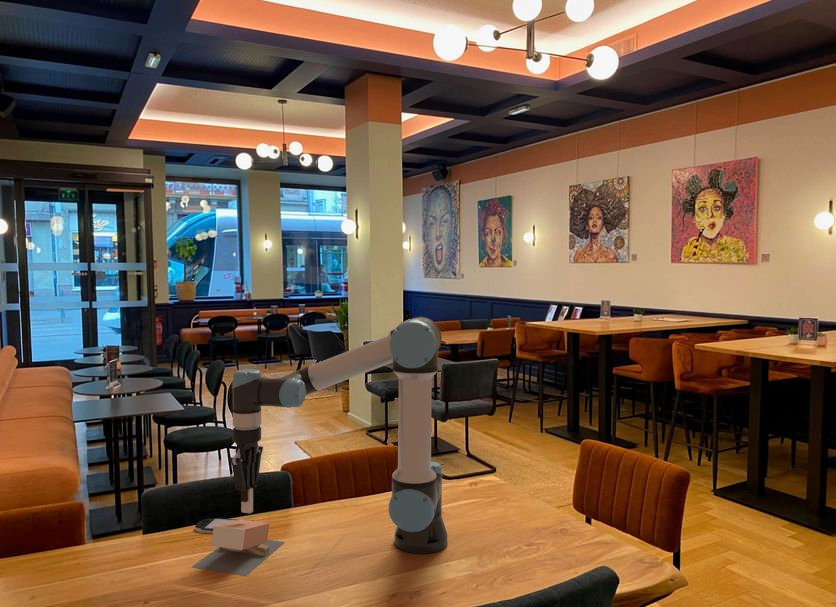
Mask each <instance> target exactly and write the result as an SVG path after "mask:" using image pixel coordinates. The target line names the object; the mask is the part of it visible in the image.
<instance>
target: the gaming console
mask: <svg viewBox="0 0 836 607" xmlns="http://www.w3.org/2000/svg"><path fill="white" fill-rule="evenodd" d="M236 520H239V519H236V518H222V517H221V518H220V517H214V518H205V519H202V520H200V521H198V522H197V523H196V524H195V525H194V530H195V532H197V533H201V534H202V533H203V534H212V535H213V529H214V525H218V524H223V523H227V522H232V521H236ZM249 521H253V520H250V519H249Z"/></svg>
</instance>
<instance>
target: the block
mask: <svg viewBox="0 0 836 607" xmlns="http://www.w3.org/2000/svg"><path fill="white" fill-rule="evenodd" d="M249 520H250V519H249ZM249 520H248V519H238V520H236V521H232V522H227V523H223V524H218V525H214V529H213V534H212V538H211V544H210V547H217V548H218V547H223V548H230V549H236V550H244V549H247V548H250V547H254V546H257V545H260V544H263V543H266V542H267V540H268V536H269V528H270V522H263V521H257V520H256V521H255V520H252V521H249Z"/></svg>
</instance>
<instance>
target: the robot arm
mask: <svg viewBox="0 0 836 607" xmlns="http://www.w3.org/2000/svg"><path fill="white" fill-rule="evenodd" d="M442 340H443V339H442V332H441V329H440V327H439V326H438V325H437V323H436V322H435V321H434V320H432V319H430V318H427V317H424V316H418V317H417V316H416V317H413V318H410V319H406V320H405V321H402V322H401V323H399V324H398V325H397V326H396V328H394V329H392V330H390V331H389V332H388V335H386V336H383V337H381V338H379V339H375V340H373V341H371V342H369V343H365V344H363V345H361V346H357V347H355V348H353V349H350V350H347V351H345V352H342V353H340V354H337V355H335V356H332V357H329V358H327V359H325V360H322V361H320V362H317V363H314V364H311V365H310V366H307V367H303V368H302V369H297V370H295V371H293V372H291V373H290V374H287V375H284V376H282V377H281V378H280V377H279V378H277V377H275V378H270V377H269V378H267V377H266V378H265V377H262V376H263V375H262V373H261V371H260V369H259V370H258V369H252V368H247V369H245V368H243V369H238V370H236V371H235V372H233V374H232V386H231V389H232V392H231V393H232V394H231V395H232V427H233V428H232V442H233V443H235V445H236V447H235V454H234V456H231V457H230V458H229V462H230V465H231V468H232V473H233V480H234V481H233V482H234V486H235V490H238V491H240V500H241V502H240V504H241V506H240V510H241V513H244V514H251V513H253V512H254V488H257V487H258V482H259V476H260V467H261V460H262V453H263V450H264V447H263V446H261V445H260V446H259V442H260V441H261V440H262V427H261V425H262V407H277V408H287V409H291V408H300V407H302V406H303V404H304V402H305V400H306V396H307V395H311V394H313V393H317V392H319V391H320V390H323V389H327V388H328V387H331V386H334V385H337V384H339V383H342V382H344V381H345V382H346V381H347V380H351V379H352V378H355V377H358V376H361V375H363V374H365V373H369V372H371V371H374V370H376V369H379V368H382V367H384V366H388V365H389V364H392V372H393V373H394V374H395V375H396V376H397V377H398V415H397V416H398V417H397V418H398V423H397V424H398V427H397V428H398V430H397V432H398V433H397V440H398V441H397V443H398V444H397V445H398V446H397V452H398V453H397V468H396V469H395V470H394V472H392V474H391V475H392V476H391V498H390V499H389V502H388V516H389V518H390V519H391V521H392V523H393V524H394V525H395V526H396V529H395V531H394V545H395V546H396V547H397V548H398V549H399V550H402V551H403V552H407V553H412V554H422V555H423V554H430V553H431V554H432V553H436V552H439V551H442V550H443V549H444V548H446V547H447V545H448V532H447V529H446V525H445V522H444V518H443V515H442V514H443V512H442V511H443V510H442V507H443V506H442V503H443V498H442V496H443V495H442V494H443V490H442V489H443V484H442V483H443V480H442V478H443V474H444V473H443V468H442V465H441V463H439V462H437V461H432V395H433V394H432V387H433V384H432V383H433V382H432V380H433V377H434V376H435V375H436V374H437V373H438V372H439V368H438V366H439V364H438V363H439V350H440V348H441V344H442Z"/></svg>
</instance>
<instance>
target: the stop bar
mask: <svg viewBox="0 0 836 607" xmlns="http://www.w3.org/2000/svg"><path fill="white" fill-rule="evenodd" d="M220 549H223V550H230V551H236V552H243V553H249V554H256V555H262V556H266V555H267V554H268V553H269V545H263V544H260V545H257V546H254V547H250V548H247V549H244V550H236V549H230V548H223V547H220Z"/></svg>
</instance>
